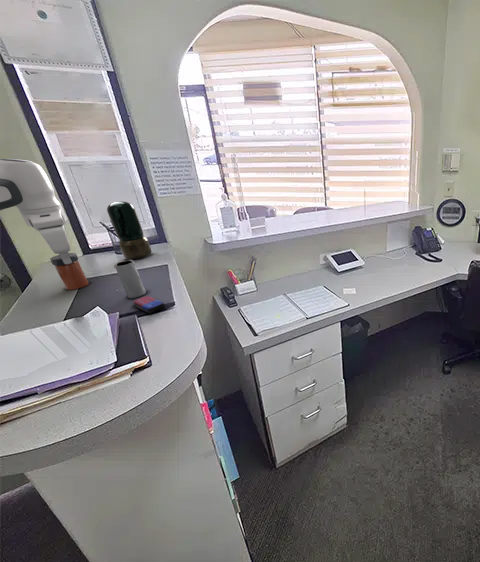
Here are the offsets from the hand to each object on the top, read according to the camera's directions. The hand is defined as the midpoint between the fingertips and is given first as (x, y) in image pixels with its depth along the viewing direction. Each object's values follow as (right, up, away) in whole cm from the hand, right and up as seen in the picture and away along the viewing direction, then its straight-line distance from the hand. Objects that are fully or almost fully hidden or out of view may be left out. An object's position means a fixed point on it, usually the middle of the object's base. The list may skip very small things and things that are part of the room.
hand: (67, 260), depth 97 cm
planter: (+26, -11, -4) cm, 28 cm away
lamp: (+1, +4, +29) cm, 29 cm away
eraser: (+35, -14, -12) cm, 40 cm away
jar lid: (0, +1, -1) cm, 1 cm away
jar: (0, -8, +3) cm, 9 cm away
